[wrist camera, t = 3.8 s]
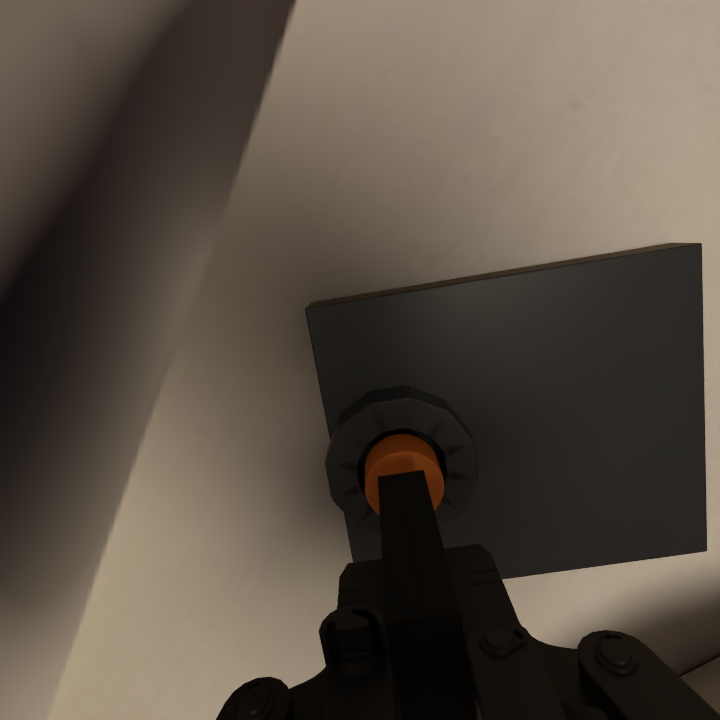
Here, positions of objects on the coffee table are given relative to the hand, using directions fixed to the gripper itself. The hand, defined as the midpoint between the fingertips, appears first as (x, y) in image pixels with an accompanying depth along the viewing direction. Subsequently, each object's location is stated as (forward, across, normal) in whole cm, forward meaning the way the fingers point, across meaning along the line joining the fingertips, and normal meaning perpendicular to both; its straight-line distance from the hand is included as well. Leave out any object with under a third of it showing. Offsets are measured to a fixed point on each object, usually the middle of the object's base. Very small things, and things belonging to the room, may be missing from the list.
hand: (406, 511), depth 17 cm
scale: (+6, +5, 0) cm, 8 cm away
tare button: (+3, 0, 0) cm, 3 cm away
